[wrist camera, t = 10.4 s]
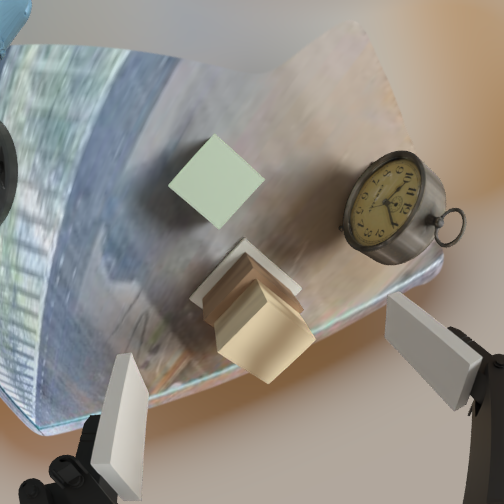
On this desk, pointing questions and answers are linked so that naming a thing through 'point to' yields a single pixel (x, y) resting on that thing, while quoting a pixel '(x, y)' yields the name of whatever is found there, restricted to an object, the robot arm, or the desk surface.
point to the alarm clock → (396, 209)
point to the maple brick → (261, 333)
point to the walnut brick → (242, 288)
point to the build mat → (230, 261)
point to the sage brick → (216, 181)
